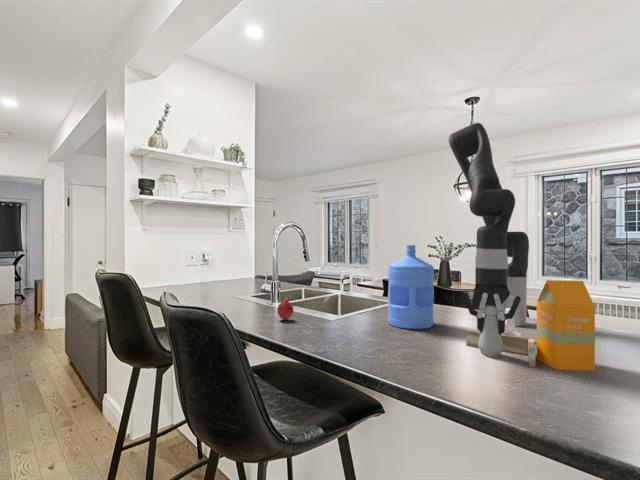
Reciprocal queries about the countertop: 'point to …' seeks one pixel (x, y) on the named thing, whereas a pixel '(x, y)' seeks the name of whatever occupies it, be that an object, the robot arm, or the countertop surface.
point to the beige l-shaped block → (508, 344)
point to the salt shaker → (490, 333)
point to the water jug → (410, 292)
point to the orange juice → (566, 326)
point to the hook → (510, 326)
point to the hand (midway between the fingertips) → (490, 332)
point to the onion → (285, 309)
